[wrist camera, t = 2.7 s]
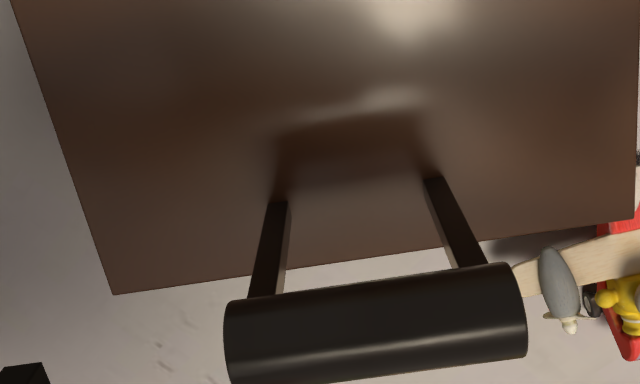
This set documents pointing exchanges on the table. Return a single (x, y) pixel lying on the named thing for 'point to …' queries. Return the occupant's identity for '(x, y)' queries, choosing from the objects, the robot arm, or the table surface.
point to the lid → (340, 159)
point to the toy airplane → (593, 280)
